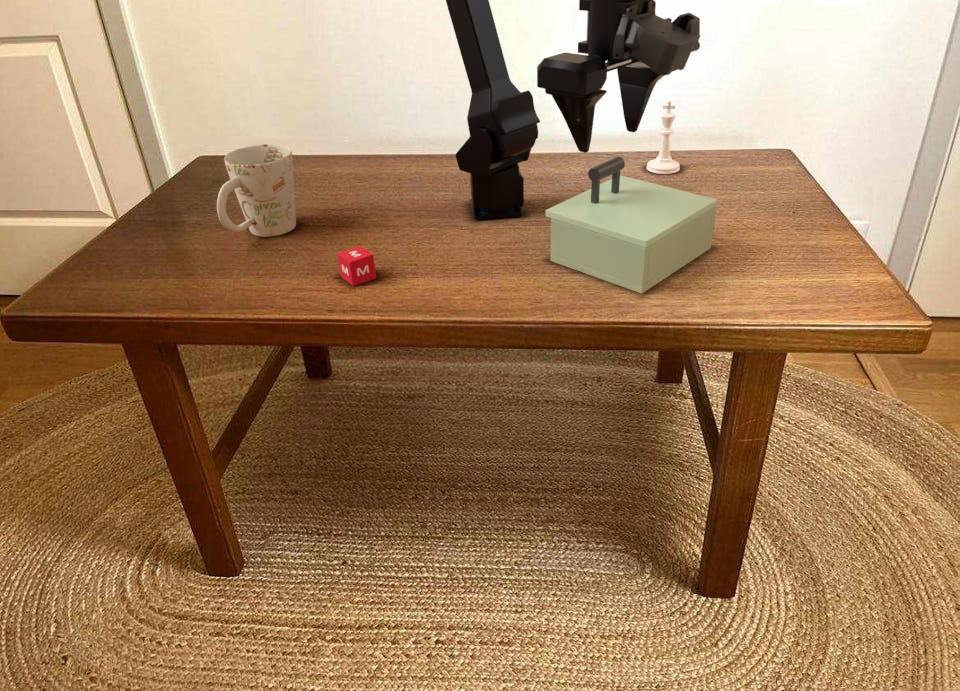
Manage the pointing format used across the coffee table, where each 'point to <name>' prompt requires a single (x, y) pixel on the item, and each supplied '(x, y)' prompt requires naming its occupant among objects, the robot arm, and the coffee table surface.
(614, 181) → the lid
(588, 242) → the chest
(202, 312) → the coffee table surface
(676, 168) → the chess piece
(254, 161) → the mug
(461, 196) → the coffee table surface
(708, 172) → the coffee table surface
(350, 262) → the red letter cube
